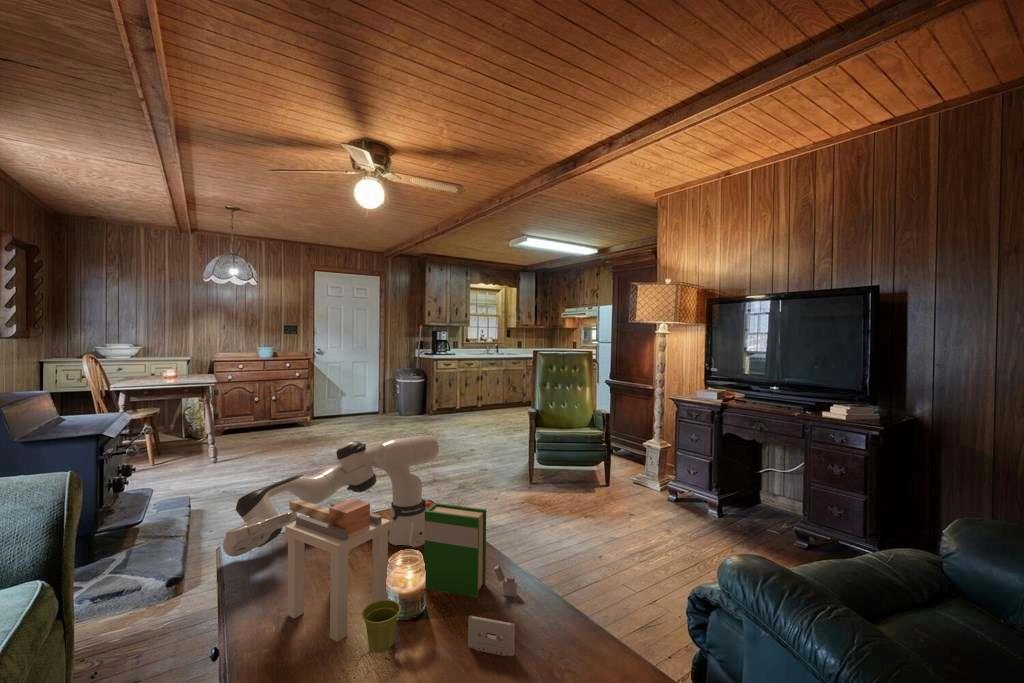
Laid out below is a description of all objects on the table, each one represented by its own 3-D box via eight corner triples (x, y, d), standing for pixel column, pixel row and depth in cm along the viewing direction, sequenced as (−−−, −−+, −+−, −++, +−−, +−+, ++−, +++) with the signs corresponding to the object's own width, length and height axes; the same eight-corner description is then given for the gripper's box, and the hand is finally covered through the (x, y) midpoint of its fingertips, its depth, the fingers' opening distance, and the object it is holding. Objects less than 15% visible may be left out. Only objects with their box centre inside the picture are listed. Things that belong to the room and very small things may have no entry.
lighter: (517, 594, 135) (517, 568, 135) (515, 597, 133) (516, 571, 133) (495, 590, 137) (495, 564, 137) (493, 593, 135) (493, 567, 135)
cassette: (467, 649, 111) (467, 618, 111) (469, 644, 113) (469, 614, 113) (513, 658, 108) (513, 627, 108) (515, 653, 110) (515, 622, 110)
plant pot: (363, 662, 106) (363, 626, 106) (360, 637, 115) (360, 604, 115) (403, 651, 110) (403, 616, 110) (397, 628, 118) (397, 596, 118)
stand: (284, 615, 123) (285, 519, 123) (338, 584, 139) (339, 499, 139) (337, 643, 112) (338, 537, 112) (389, 606, 128) (390, 513, 128)
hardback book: (485, 585, 140) (486, 509, 139) (477, 598, 133) (478, 518, 132) (434, 575, 145) (435, 502, 144) (424, 588, 138) (424, 511, 137)
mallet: (280, 512, 132) (280, 492, 132) (305, 504, 139) (305, 485, 139) (346, 535, 118) (346, 513, 118) (369, 524, 125) (370, 503, 125)
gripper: (287, 530, 154) (309, 517, 148) (225, 554, 137) (247, 542, 131) (282, 512, 156) (303, 499, 150) (220, 534, 138) (241, 521, 132)
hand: (276, 519), depth 140 cm, fingers open, 8 cm apart
